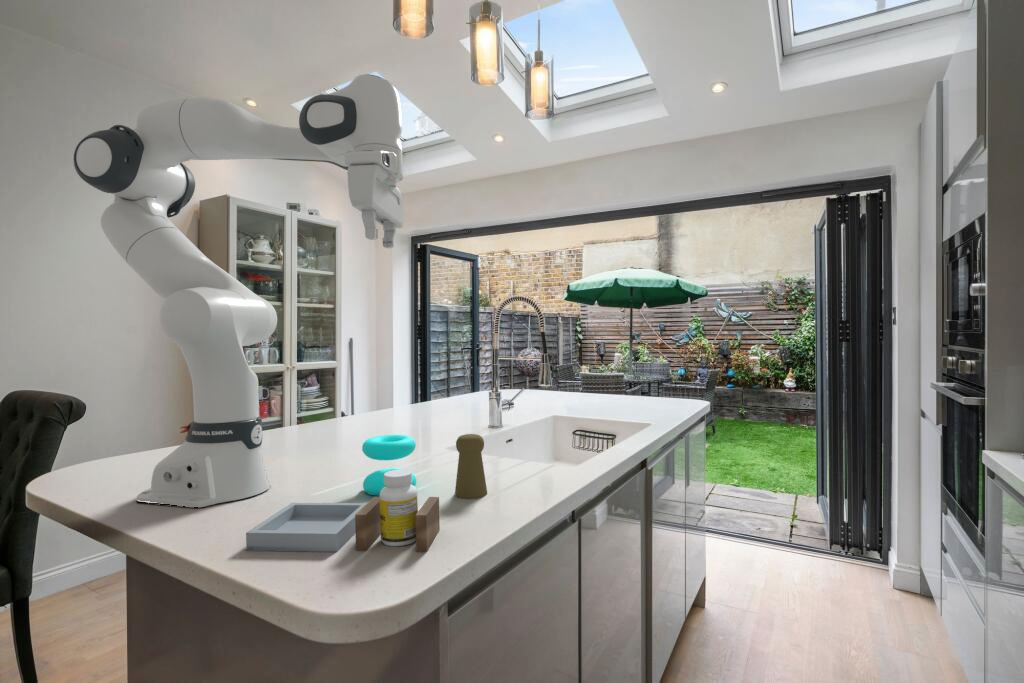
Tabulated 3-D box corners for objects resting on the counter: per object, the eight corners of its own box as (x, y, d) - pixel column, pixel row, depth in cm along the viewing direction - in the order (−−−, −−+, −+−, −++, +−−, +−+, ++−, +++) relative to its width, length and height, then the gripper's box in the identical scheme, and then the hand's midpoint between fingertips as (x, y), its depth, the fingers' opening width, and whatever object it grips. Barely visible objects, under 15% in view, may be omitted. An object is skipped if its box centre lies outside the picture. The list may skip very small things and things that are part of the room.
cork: (482, 499, 94) (481, 438, 94) (450, 498, 95) (449, 437, 95) (490, 489, 100) (489, 432, 100) (460, 488, 101) (459, 431, 101)
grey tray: (246, 550, 73) (246, 532, 73) (292, 517, 86) (292, 502, 86) (336, 551, 72) (336, 533, 72) (369, 518, 85) (369, 503, 85)
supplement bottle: (383, 533, 79) (382, 468, 79) (420, 531, 79) (418, 467, 79) (377, 548, 73) (376, 478, 73) (416, 546, 74) (415, 476, 74)
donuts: (351, 442, 97) (378, 432, 107) (352, 496, 97) (379, 481, 107) (400, 444, 95) (424, 434, 104) (401, 500, 95) (425, 484, 104)
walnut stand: (355, 550, 73) (355, 514, 73) (375, 529, 81) (374, 496, 81) (427, 551, 72) (426, 515, 72) (439, 529, 80) (439, 496, 80)
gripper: (380, 184, 107) (381, 252, 108) (340, 150, 87) (342, 234, 87) (410, 183, 107) (412, 251, 107) (377, 148, 87) (379, 232, 87)
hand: (380, 243), depth 97 cm, fingers open, 8 cm apart
